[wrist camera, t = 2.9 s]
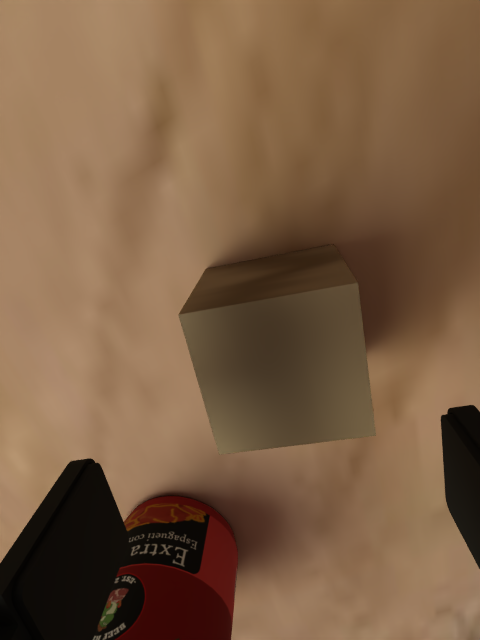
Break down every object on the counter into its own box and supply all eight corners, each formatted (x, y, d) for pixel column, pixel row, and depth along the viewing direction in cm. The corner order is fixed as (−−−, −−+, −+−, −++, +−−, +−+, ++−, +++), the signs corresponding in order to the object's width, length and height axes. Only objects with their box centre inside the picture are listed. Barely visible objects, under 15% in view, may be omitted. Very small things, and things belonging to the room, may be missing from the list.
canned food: (208, 478, 24) (159, 712, 14) (258, 568, 27) (248, 822, 17) (99, 508, 26) (-15, 737, 16) (156, 591, 28) (90, 834, 18)
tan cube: (333, 243, 19) (357, 282, 13) (348, 359, 21) (375, 435, 15) (205, 268, 19) (178, 314, 14) (233, 377, 22) (219, 454, 16)
